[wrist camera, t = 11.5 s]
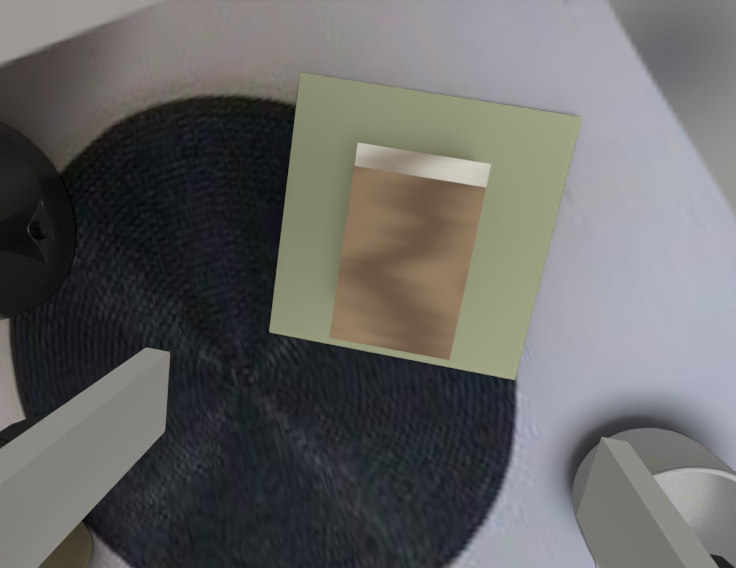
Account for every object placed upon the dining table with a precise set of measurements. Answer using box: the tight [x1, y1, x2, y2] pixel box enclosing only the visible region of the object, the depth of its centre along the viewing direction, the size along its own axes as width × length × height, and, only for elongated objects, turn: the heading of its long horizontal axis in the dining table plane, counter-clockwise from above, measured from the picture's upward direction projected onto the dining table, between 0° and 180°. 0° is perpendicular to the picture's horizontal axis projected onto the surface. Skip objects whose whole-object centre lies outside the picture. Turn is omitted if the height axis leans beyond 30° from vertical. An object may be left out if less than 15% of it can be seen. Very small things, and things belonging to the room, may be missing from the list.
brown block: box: [329, 143, 491, 360], centre depth 31 cm, size 7×7×11 cm
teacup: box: [572, 428, 736, 568], centre depth 35 cm, size 14×11×8 cm
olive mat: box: [269, 72, 582, 380], centre depth 35 cm, size 18×18×1 cm
